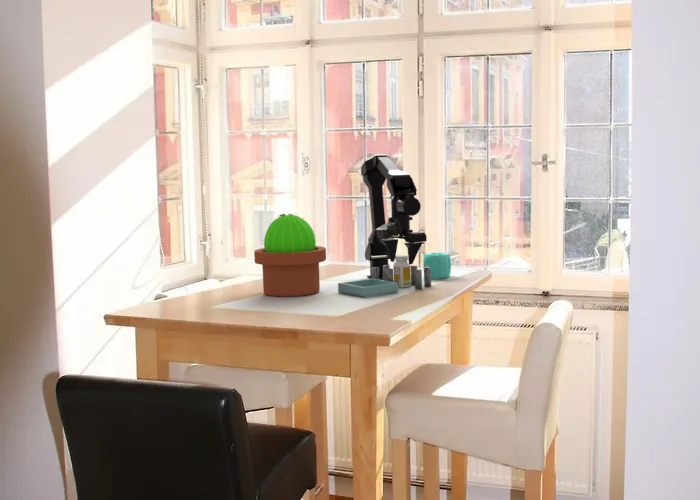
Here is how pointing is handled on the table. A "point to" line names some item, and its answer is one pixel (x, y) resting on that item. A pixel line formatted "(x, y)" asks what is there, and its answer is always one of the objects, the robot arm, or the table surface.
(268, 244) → the potted cactus
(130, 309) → the table surface
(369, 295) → the teal tray
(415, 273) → the spacer field
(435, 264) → the decorative dice
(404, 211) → the robot arm
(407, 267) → the supplement bottle
